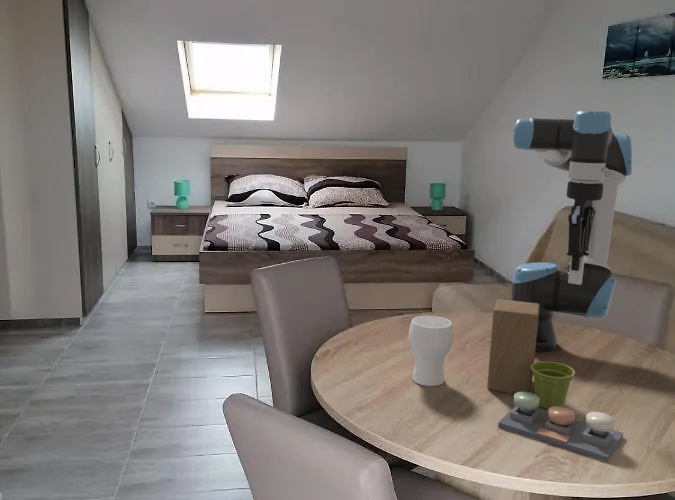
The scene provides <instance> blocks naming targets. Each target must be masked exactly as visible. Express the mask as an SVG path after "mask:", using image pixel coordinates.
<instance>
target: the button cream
mask: <svg viewBox="0 0 675 500" xmlns="http://www.w3.org/2000/svg"><path fill="white" fill-rule="evenodd" d="M585 422H586V425H587V426H588V427H590V428H591V429H592V431H593V432H594V433H596V434H599V435H603V434H605V432H608V431H612V430H614V428H615V418H614V417H613V416H611V415H609V414H607V413H604V412H599V411H590V412H588V413H586V416H585Z"/></svg>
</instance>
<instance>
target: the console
mask: <svg viewBox="0 0 675 500" xmlns="http://www.w3.org/2000/svg"><path fill="white" fill-rule="evenodd" d="M548 411H549V410H548V409H544V408H541V407H540V408H539V407H538V408H536V409H532V410H531V412H529V413H526V412H522V411H521V410H520V407H517V406H516V405H514V407H513V408H512V409H511V410H510V411H509V412H508V413H507V414H505V416H504V417H502V418H501V419H500V420H499V421H498V423H497V427H498V428H500V429H504V430H507V431H510V432H514V433H517V434H519V435H523V436H527V437H529V438H532V439H535V440H539V441H542V442H544V443H548V444H551V445H555V446H557V447H560V448H562V449H566V450H569V451H573V452H576V453H579V454H582V455H584V456H588V457H592V458H594V459H598V460H601V461H603V462H610V459H611V457H612V456H613V455H614V453H615V451H616V449H617V447H618V446H619V445H620V443H621V441H622V440H623V437H624V432H621V431H618V430H614V429H613V430H612V431H608V432H605V434H603V435H599V434H596V433H594V432H593V431H592V429H591V428H590V427H588V426H587V425H586V421H583V420H580V419H577V418H575V421H574V423H573V424H571V425H567V427H564V426H560V425H557V424H554V422H552V421H550V420H549V419H548Z"/></svg>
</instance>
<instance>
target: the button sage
mask: <svg viewBox="0 0 675 500" xmlns="http://www.w3.org/2000/svg"><path fill="white" fill-rule="evenodd" d="M539 400H540V398H539V397H538V396H537V395H535V393H533V392H531V393H530V392H517V393H515V394H514V395H513V405H514V406H517V407H520V410H521V411H522V412H526V413H529V412H531V410H532V409H536V408H539Z"/></svg>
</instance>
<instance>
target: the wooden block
mask: <svg viewBox="0 0 675 500" xmlns="http://www.w3.org/2000/svg"><path fill="white" fill-rule="evenodd" d="M539 307H540V305H539V304H538V303H529V302H520V301H512V300H511V299H510V300H508V299H502V298H501V299H500V298H499V299H497V300H496V302H495V305H494V308H493V311H492V323H491V334H490V335H491V336H490V348H489V349H490V350H489V359H488V373H487V382H486V383H487V384H486V385H487V386H486V387H487V390H489V391H490V390H491V391H496V392H501V393H509V394H515V393H517V392H530V393H532V387H533V381H534V376H533V371H532V370H531V365H532V364H533V363H535V359H536V357H535V355H536V352H535V349H536V338H537V328H538V318H539Z"/></svg>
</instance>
